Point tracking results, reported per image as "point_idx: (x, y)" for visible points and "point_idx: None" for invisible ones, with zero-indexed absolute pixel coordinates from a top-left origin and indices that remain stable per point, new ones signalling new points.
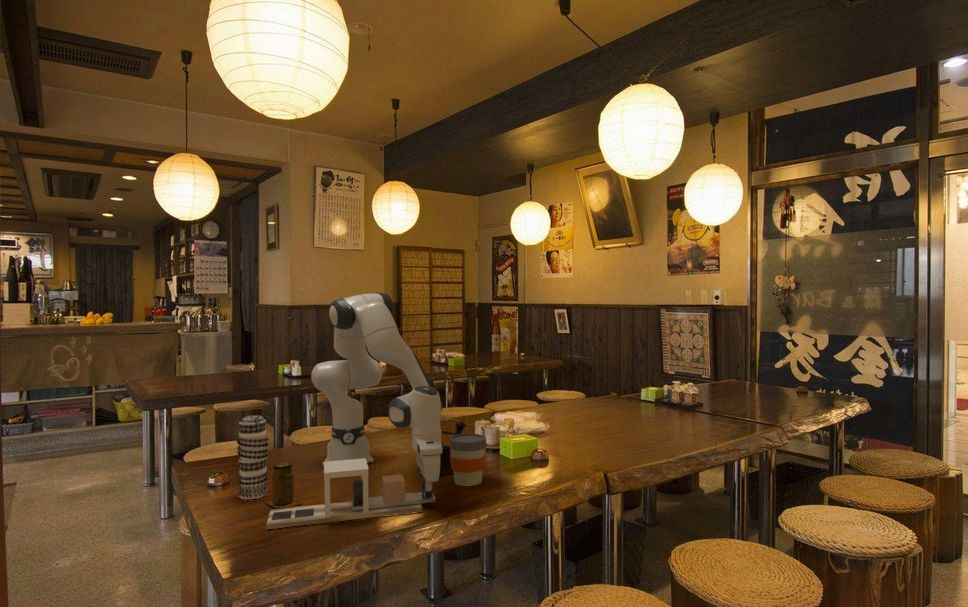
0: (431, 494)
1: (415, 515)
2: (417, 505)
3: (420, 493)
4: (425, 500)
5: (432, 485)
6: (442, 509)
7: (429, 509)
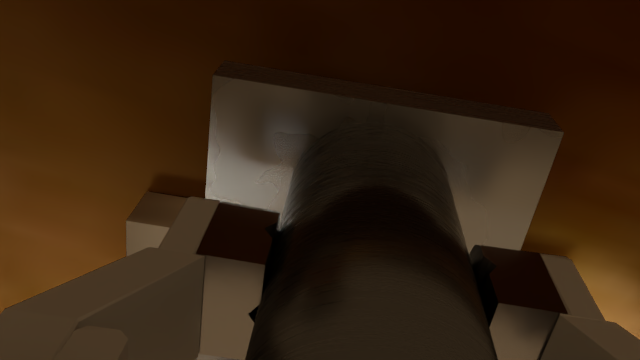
0: (444, 171)
1: None
2: None
3: None
4: None
5: (422, 209)
6: (614, 22)
7: None
